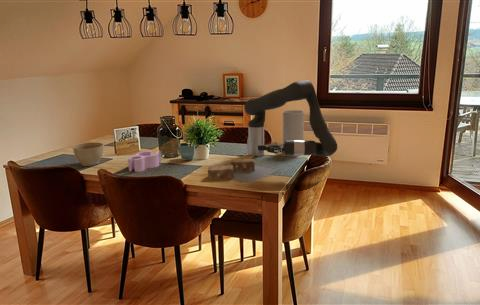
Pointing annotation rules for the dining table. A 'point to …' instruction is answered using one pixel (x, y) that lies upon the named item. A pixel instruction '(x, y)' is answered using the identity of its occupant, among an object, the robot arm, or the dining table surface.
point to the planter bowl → (88, 153)
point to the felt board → (253, 174)
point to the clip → (144, 161)
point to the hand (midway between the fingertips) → (257, 147)
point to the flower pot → (186, 151)
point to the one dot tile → (221, 172)
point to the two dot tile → (243, 164)
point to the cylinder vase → (293, 125)
